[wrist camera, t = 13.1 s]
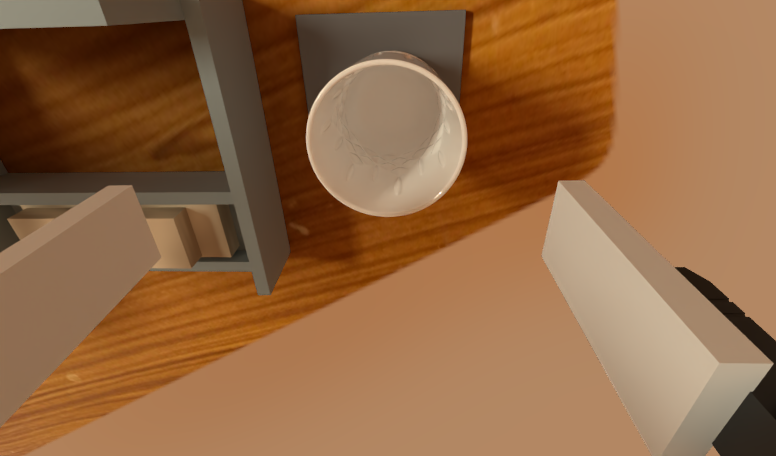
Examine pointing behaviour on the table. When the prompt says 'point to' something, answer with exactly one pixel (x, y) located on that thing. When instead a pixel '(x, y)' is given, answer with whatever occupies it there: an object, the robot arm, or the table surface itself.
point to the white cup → (387, 135)
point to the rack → (229, 118)
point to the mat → (379, 43)
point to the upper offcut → (163, 222)
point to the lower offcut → (200, 227)
